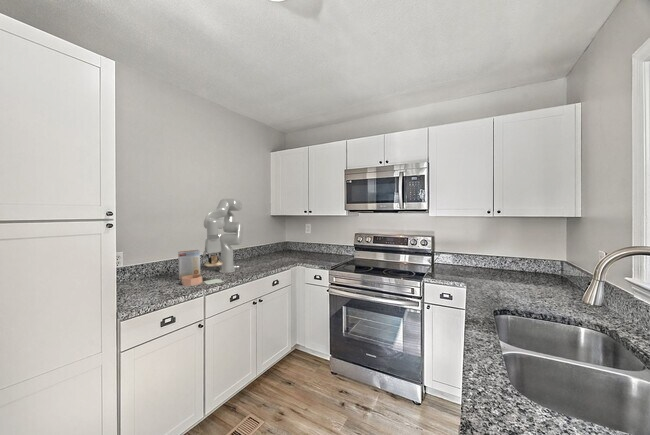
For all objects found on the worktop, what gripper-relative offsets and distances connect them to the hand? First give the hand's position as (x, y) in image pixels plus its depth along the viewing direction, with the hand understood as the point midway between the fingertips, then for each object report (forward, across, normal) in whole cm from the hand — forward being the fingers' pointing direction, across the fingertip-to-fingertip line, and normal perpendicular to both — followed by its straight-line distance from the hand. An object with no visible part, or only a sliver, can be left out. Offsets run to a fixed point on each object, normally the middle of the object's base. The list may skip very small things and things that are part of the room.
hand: (213, 262), depth 190 cm
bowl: (+14, +13, -4) cm, 20 cm away
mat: (+14, +1, +1) cm, 14 cm away
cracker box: (+15, +10, -22) cm, 29 cm away
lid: (+2, 0, 0) cm, 2 cm away
